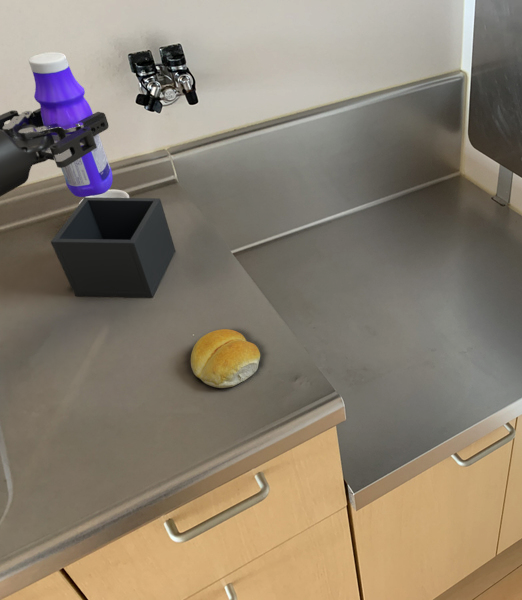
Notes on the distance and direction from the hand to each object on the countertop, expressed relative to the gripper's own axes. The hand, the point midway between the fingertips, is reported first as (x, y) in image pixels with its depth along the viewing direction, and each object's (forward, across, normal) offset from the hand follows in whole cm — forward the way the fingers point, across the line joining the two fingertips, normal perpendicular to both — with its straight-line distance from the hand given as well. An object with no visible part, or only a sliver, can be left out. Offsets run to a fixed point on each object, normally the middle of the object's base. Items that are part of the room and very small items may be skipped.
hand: (82, 114), depth 79 cm
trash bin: (-1, +1, +26) cm, 26 cm away
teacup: (+8, +11, +26) cm, 29 cm away
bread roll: (-11, -25, +26) cm, 38 cm away
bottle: (-2, 0, +10) cm, 10 cm away
